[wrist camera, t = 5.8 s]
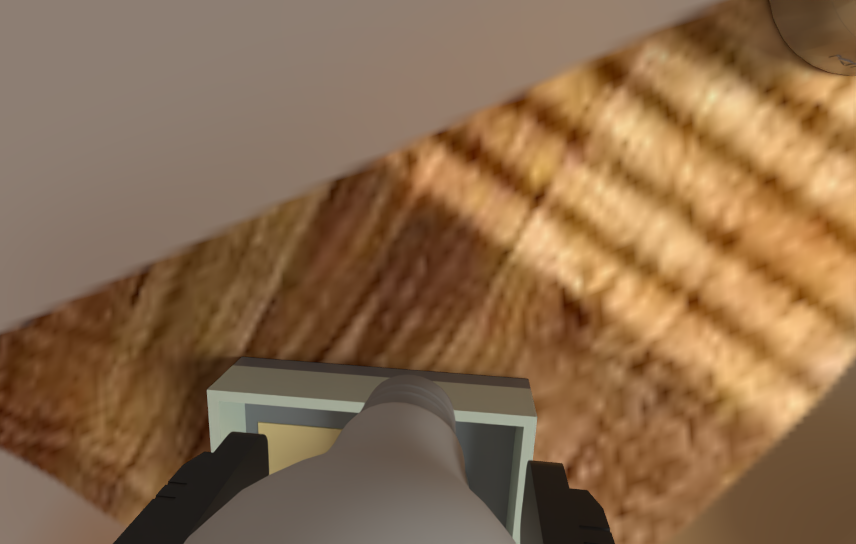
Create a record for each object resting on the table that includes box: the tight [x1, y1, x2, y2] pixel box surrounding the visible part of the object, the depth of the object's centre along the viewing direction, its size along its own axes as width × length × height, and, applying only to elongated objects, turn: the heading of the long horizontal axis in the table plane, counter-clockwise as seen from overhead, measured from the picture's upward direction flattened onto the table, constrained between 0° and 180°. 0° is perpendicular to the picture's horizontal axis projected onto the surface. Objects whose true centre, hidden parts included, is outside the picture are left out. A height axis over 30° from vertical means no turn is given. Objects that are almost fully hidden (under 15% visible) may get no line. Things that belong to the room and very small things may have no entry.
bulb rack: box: [207, 357, 537, 544], centre depth 27 cm, size 13×17×10 cm
